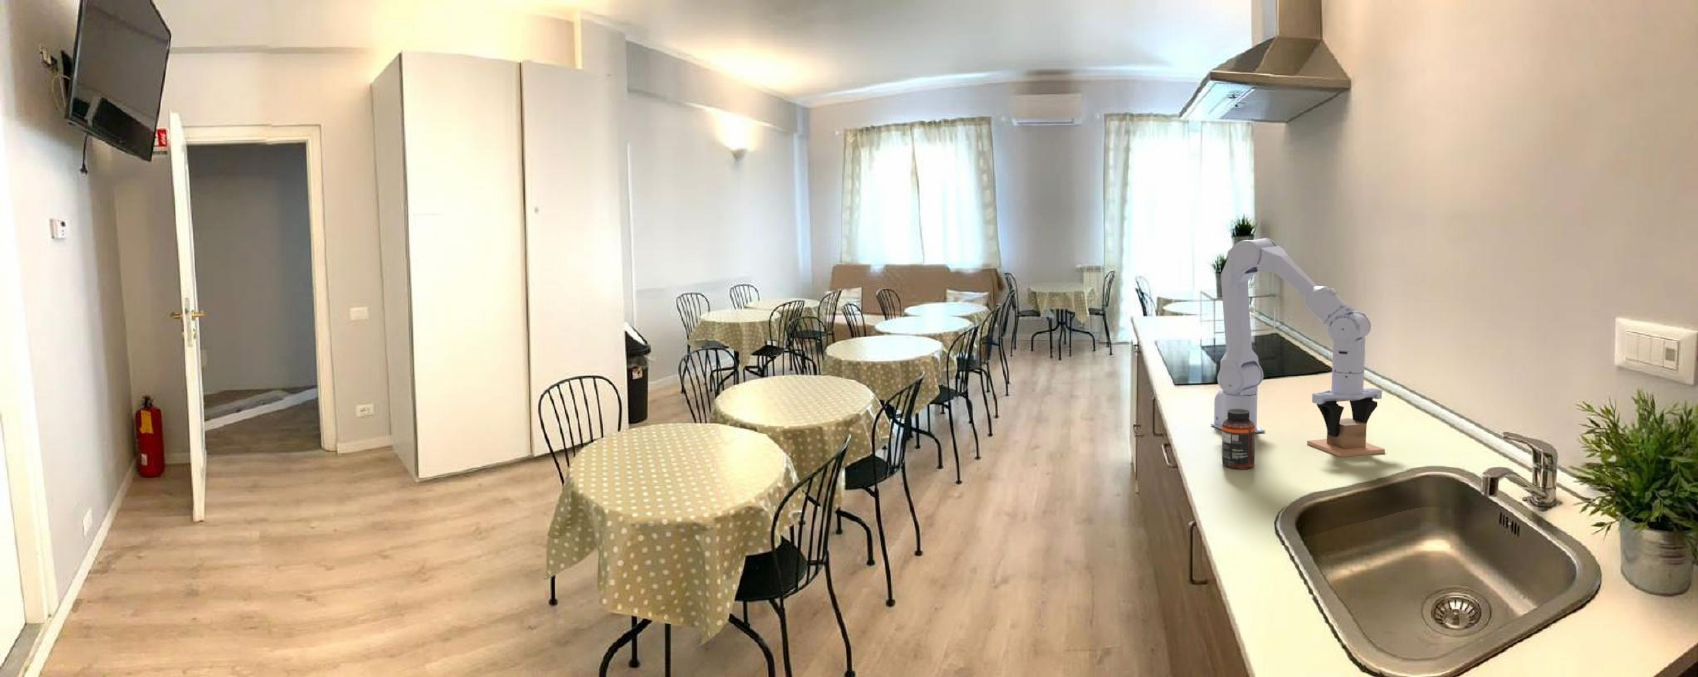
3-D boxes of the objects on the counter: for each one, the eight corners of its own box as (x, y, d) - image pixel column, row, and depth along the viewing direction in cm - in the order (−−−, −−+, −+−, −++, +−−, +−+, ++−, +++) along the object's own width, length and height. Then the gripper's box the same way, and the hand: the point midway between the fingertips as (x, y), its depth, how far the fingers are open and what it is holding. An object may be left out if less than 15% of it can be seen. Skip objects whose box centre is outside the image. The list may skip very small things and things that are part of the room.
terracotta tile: (1307, 444, 179) (1307, 440, 179) (1349, 440, 181) (1349, 436, 181) (1340, 457, 170) (1340, 453, 169) (1384, 452, 171) (1384, 449, 171)
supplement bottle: (1247, 460, 170) (1249, 406, 169) (1259, 469, 164) (1260, 413, 163) (1217, 461, 171) (1218, 407, 169) (1227, 470, 165) (1228, 414, 163)
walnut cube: (1326, 442, 177) (1327, 419, 176) (1348, 440, 178) (1348, 418, 177) (1343, 449, 172) (1344, 425, 171) (1365, 447, 173) (1366, 423, 172)
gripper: (1329, 377, 168) (1327, 442, 170) (1394, 371, 170) (1391, 436, 172) (1306, 371, 175) (1304, 433, 177) (1368, 365, 177) (1365, 428, 179)
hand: (1345, 434), depth 175 cm, fingers open, 5 cm apart
